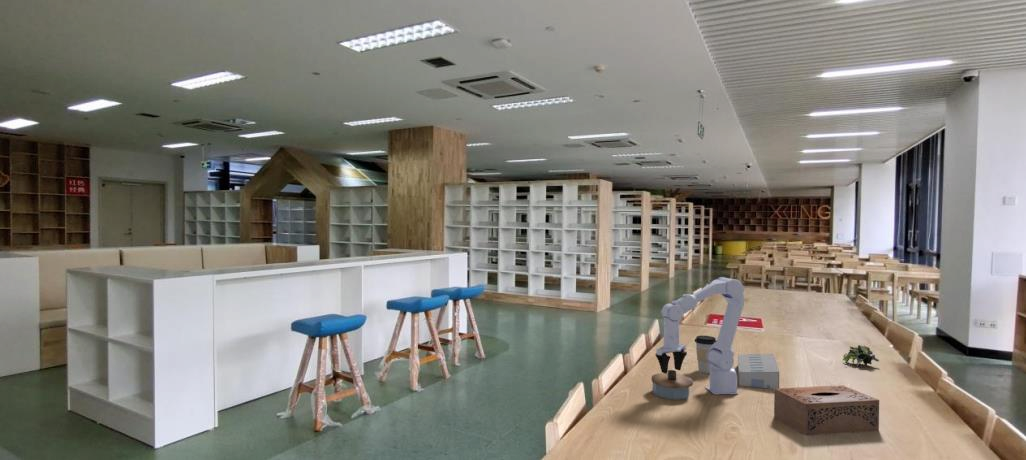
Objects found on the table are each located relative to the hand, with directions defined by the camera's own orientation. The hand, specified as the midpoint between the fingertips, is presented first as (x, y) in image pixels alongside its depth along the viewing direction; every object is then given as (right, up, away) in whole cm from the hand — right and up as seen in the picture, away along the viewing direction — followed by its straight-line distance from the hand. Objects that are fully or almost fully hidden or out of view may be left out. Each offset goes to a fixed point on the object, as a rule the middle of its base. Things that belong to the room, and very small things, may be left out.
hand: (671, 371), depth 191 cm
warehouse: (+44, -9, +22) cm, 50 cm away
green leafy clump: (+100, -9, +40) cm, 108 cm away
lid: (0, -4, -1) cm, 4 cm away
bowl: (0, -9, 0) cm, 9 cm away
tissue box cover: (+41, -10, -28) cm, 51 cm away
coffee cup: (+25, -9, +29) cm, 39 cm away
